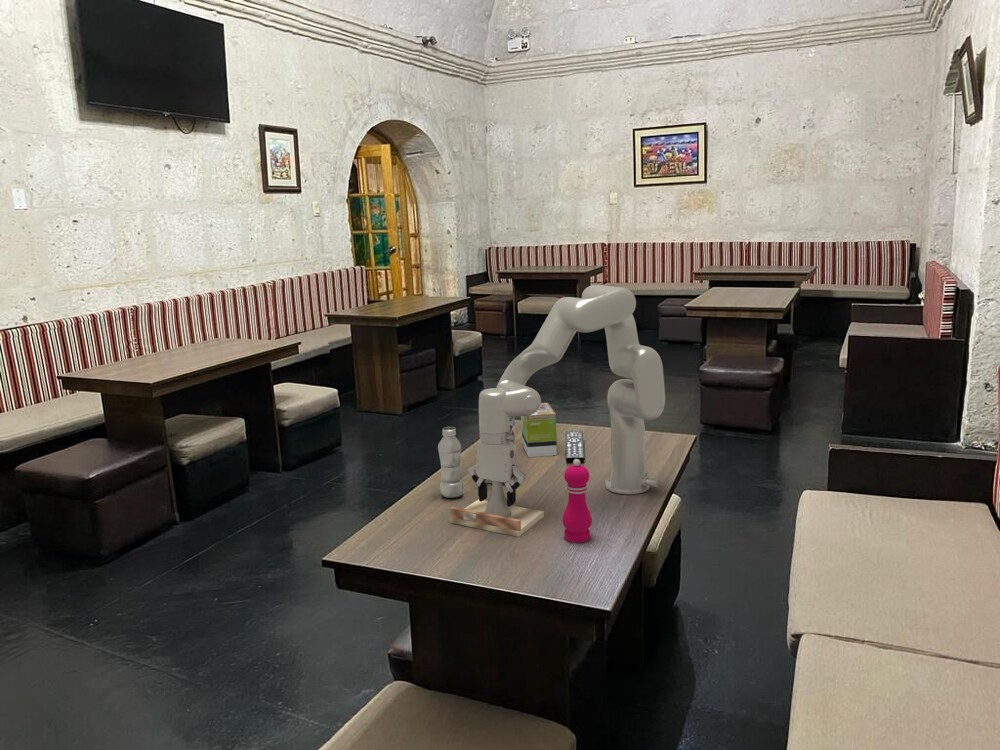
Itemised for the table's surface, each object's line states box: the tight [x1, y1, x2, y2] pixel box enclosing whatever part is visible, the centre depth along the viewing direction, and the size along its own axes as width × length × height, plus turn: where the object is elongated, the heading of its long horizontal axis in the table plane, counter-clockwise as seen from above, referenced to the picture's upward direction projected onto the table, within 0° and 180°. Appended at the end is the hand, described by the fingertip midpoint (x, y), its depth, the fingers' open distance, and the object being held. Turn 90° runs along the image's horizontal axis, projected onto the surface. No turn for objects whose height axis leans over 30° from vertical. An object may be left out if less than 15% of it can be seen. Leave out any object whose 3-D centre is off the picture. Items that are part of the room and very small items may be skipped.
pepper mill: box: [561, 458, 593, 544], centre depth 181 cm, size 7×7×20 cm
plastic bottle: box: [437, 426, 465, 499], centre depth 211 cm, size 6×7×20 cm
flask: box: [485, 481, 511, 517], centre depth 194 cm, size 7×7×10 cm
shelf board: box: [449, 498, 545, 538], centre depth 195 cm, size 20×14×4 cm
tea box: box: [520, 402, 558, 458], centre depth 251 cm, size 15×10×15 cm, turn 6°
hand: (497, 502), depth 194 cm, fingers open, 7 cm apart
